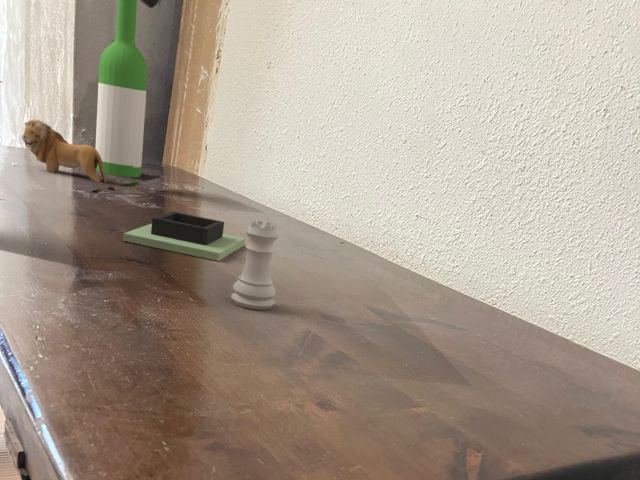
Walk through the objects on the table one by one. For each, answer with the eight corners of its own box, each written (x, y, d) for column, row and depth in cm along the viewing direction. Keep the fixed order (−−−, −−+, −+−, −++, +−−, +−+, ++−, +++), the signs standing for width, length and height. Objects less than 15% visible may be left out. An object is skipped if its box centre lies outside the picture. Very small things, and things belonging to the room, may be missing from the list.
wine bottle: (86, 176, 130) (94, -20, 118) (128, 180, 135) (140, -8, 122) (104, 185, 125) (115, -19, 112) (147, 189, 129) (161, -7, 117)
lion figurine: (16, 179, 116) (16, 117, 112) (29, 176, 120) (30, 116, 117) (110, 196, 116) (113, 135, 112) (120, 192, 121) (123, 134, 117)
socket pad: (123, 241, 90) (124, 216, 89) (159, 227, 101) (160, 205, 99) (218, 261, 89) (221, 236, 88) (244, 245, 100) (247, 223, 98)
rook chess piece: (272, 300, 77) (283, 222, 74) (277, 313, 73) (289, 231, 70) (228, 295, 76) (238, 215, 73) (231, 307, 72) (242, 224, 69)
